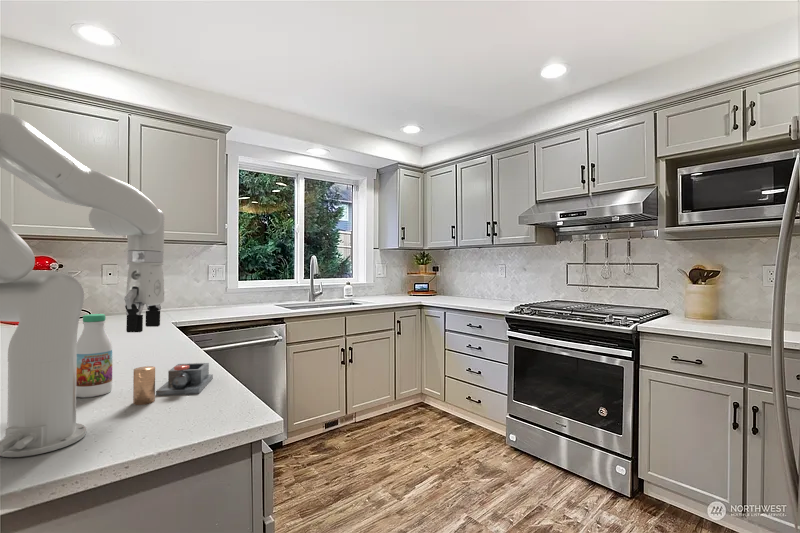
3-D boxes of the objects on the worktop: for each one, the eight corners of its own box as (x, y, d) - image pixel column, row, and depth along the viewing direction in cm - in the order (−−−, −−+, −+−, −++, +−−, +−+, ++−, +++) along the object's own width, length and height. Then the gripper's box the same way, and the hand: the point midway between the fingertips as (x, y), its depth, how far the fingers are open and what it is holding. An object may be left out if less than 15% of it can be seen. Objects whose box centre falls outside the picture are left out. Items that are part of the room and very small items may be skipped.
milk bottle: (67, 395, 101) (68, 315, 101) (102, 387, 108) (103, 312, 108) (83, 400, 98) (84, 317, 98) (118, 391, 105) (119, 314, 105)
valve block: (199, 393, 104) (199, 368, 104) (156, 395, 102) (156, 370, 102) (212, 378, 118) (212, 356, 118) (175, 380, 116) (175, 357, 115)
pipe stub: (150, 404, 95) (151, 370, 95) (129, 405, 95) (130, 371, 95) (157, 398, 100) (158, 365, 100) (137, 399, 99) (138, 366, 99)
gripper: (146, 258, 91) (144, 334, 91) (175, 260, 108) (174, 324, 108) (109, 257, 90) (107, 334, 90) (144, 259, 107) (143, 324, 107)
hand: (144, 329), depth 99 cm, fingers open, 9 cm apart
